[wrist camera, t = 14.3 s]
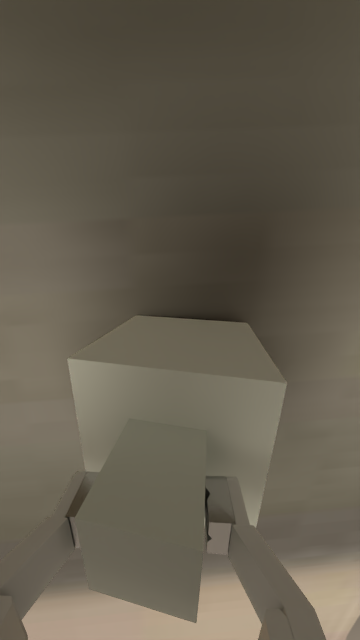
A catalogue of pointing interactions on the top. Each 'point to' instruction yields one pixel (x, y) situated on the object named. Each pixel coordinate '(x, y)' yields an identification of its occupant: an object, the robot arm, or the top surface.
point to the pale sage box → (168, 448)
